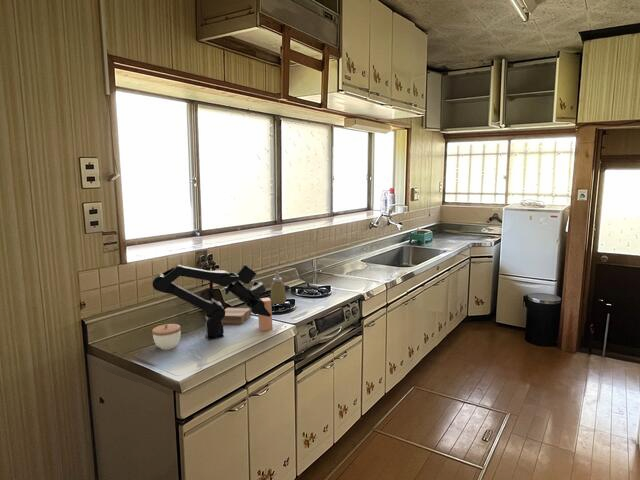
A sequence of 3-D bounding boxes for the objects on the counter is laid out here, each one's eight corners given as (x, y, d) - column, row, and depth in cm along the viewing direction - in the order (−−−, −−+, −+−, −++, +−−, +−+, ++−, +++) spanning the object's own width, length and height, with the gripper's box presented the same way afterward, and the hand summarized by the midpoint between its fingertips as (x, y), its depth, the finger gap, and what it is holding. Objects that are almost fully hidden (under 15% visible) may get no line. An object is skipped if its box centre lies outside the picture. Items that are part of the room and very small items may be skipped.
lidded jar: (167, 340, 181) (165, 318, 180) (187, 343, 177) (185, 321, 176) (147, 350, 171) (145, 327, 170) (169, 353, 167) (167, 330, 166)
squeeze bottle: (279, 302, 230) (278, 269, 227) (289, 305, 224) (288, 271, 222) (267, 305, 224) (265, 271, 222) (277, 308, 219) (275, 274, 216)
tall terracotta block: (261, 330, 188) (259, 301, 186) (258, 327, 193) (257, 298, 191) (272, 329, 190) (271, 300, 188) (269, 325, 195) (268, 297, 193)
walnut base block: (241, 324, 198) (241, 316, 198) (217, 323, 201) (216, 315, 200) (251, 316, 210) (250, 308, 209) (228, 315, 212) (227, 307, 212)
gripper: (258, 282, 178) (285, 304, 183) (249, 273, 195) (274, 293, 201) (240, 303, 177) (268, 325, 182) (233, 292, 194) (258, 312, 199)
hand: (268, 313), depth 191 cm, fingers open, 8 cm apart
